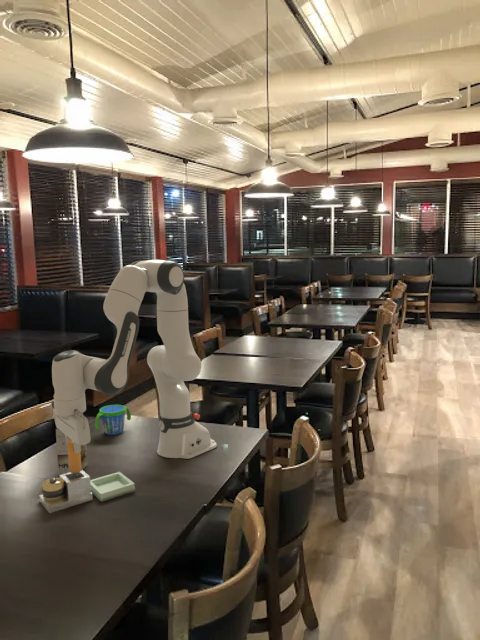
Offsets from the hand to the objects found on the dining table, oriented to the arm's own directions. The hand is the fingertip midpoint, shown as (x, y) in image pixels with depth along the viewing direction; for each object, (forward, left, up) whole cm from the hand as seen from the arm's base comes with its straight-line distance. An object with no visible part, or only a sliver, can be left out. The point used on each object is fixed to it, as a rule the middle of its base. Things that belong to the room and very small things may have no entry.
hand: (74, 449), depth 161 cm
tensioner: (+3, 0, -15) cm, 16 cm away
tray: (-10, +2, -15) cm, 18 cm away
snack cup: (-32, -45, -15) cm, 57 cm away
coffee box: (-6, -20, -15) cm, 26 cm away
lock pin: (0, 0, -7) cm, 7 cm away
